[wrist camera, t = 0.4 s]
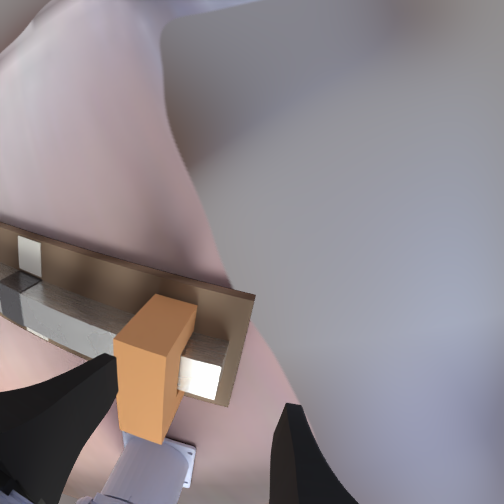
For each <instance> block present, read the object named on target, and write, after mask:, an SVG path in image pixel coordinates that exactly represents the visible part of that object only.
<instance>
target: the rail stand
mask: <svg viewBox="0 0 504 504" xmlns="http://www.w3.org/2000/svg"><path fill="white" fill-rule="evenodd" d="M155 294H159V295H162V296H165V297H169V298H173V299H176V300H180V301H183V302H187V303H191V304H194V305H198V306H197V313H196V319H195V326H194V331H193V333H192V335H191V337H190V339H189V340H188V342H187V344H186V346H185V348H184V350H183V351H182V353H181V356H180V365H179V374H178V384H177V389H178V390H181V391H185V393H184V396H188V397H191V398H194V399H198V400H202V401H205V402H209V403H213V404H216V405H220V406H224V407H228V405H229V401H230V397H231V393H232V389H233V385H234V381H235V377H236V373H237V369H238V365H239V361H240V357H241V353H242V349H243V345H244V341H245V337H246V333H247V329H248V325H249V321H250V317H251V312H252V308H253V304H254V300H255V296H256V295H254V294H250V293H245V292H241V291H237V290H233V289H229V288H225V287H221V286H217V285H213V284H209V283H206V282H202V281H198V280H194V279H190V278H186V277H183V276H179V275H175V274H171V273H168V272H164V271H160V270H156V269H153V268H149V267H146V266H142V265H138V264H135V263H131V262H128V261H124V260H121V259H117V258H114V257H110V256H107V255H103V254H100V253H97V252H93V251H90V250H87V249H83V248H80V247H77V246H73V245H70V244H67V243H64V242H60V241H57V240H54V239H51V238H48V237H44V236H41V235H38V234H35V233H32V232H29V231H26V230H23V229H20V228H17V227H14V226H11V225H8V224H5V223H2V222H0V316H2V317H4V318H5V319H7V320H9V321H10V322H12V323H14V324H16V325H18V326H19V327H21V328H23V329H25V330H27V331H28V332H30V333H32V334H34V335H36V336H38V337H40V338H42V339H44V340H46V341H48V342H50V343H52V344H54V345H56V346H58V347H60V348H62V349H64V350H66V351H68V352H70V353H72V354H75V355H77V356H79V357H81V358H84V359H86V360H88V361H89V360H91V359H93V358H95V357H97V356H99V355H101V354H103V353H107V354H109V355H112V356H114V352H113V338H114V337H115V336H116V335H117V334H118V333H119V332H120V331H121V330H122V329H123V328H124V326H125V325H126V324H127V323H128V322H129V321H130V320H131V319H132V318H133V317H134V316H135V315H136V314H137V313H138V311H139V310H140V309H141V308H142V307H143V306H144V305H145V304H146V303H147V302H148V301H149V300H150V299H151V298H152V297H153V296H154V295H155Z"/></svg>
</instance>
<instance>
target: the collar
mask: <svg viewBox="0 0 504 504" xmlns="http://www.w3.org/2000/svg"><path fill="white" fill-rule="evenodd" d="M197 306H198V305H194V304H191V303H187V302H183V301H180V300H176V299H173V298H169V297H165V296H162V295H159V294H155V295H154V296H153V297H152V298H151V299H150V300H149V301H148V302H147V303H146V304H145V305H144V306H143V307H142V308H141V309H140V310H139V311H138V313H137V314H136V315H135V316H134V317H133V318H132V319H131V320H130V321H129V322H128V323H127V324H126V325H125V326H124V328H123V329H122V330H121V331H120V332H119V333H118V334H117V335H116V336H115V337H114V338H113V352H114V356H115V357H116V358H117V376H118V389H119V391H118V393H117V395H116V399H117V410H118V419H119V428H120V430H122V431H125V432H127V433H130V434H132V435H135V436H137V437H140V438H143V439H145V440H148V441H151V442H154V443H157V444H160V445H162V443H163V441H164V438H165V436H166V434H167V432H168V429H169V427H170V425H171V422H172V420H173V418H174V416H175V413H176V411H177V409H178V407H179V404H180V402H181V400H182V397H183V395H184V393H185V391H181V390H178V389H177V384H178V374H179V365H180V356H181V353H182V351H183V350H184V348H185V346H186V344H187V342H188V340H189V339H190V337H191V335H192V333H193V331H194V326H195V319H196V313H197Z"/></svg>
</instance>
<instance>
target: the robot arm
mask: <svg viewBox="0 0 504 504" xmlns="http://www.w3.org/2000/svg"><path fill="white" fill-rule="evenodd" d="M118 391H119V389H118V376H117V358H116V357H115V356H112V355H109V354H107V353H103V354H101V355H99V356H97V357H95V358H93V359H91V360H89V361H87V362H85V363H84V364H82V365H80V366H78V367H76V368H74V369H72V370H70V371H68V372H66V373H63V374H61V375H59V376H56V377H54V378H52V379H49V380H47V381H44V382H42V383H39V384H35V385H32V386H29V387H25V388H20V389H16V390H11V391H5V392H0V504H58V503H59V500H60V497H61V494H62V492H63V489H64V487H65V484H66V482H67V479H68V477H69V475H70V472H71V470H72V468H73V466H74V464H75V462H76V460H77V458H78V456H79V454H80V452H81V450H82V448H83V447H84V445H85V443H86V442H87V440H88V439H89V438H90V436H91V435H92V433H93V432H94V430H95V429H96V428H97V426H98V425H99V423H100V422H101V421H102V419H103V418H104V416H105V415H106V413H107V412H108V410H109V409H110V407H111V405H112V403H113V401H114V399H115V397H116V395H117V393H118ZM122 433H123V441H124V450H123V452H122V454H121V455H120V457H119V459H118V461H117V463H116V465H115V466H114V468H113V470H112V472H111V474H110V476H109V478H108V480H107V481H106V483H105V485H104V487H103V489H102V491H101V493H98V492H97V494H96V496H95V497H94V499H93V498H91V497H90V496H86V497H81V498H79V499H78V501H77V502H76V503H75V504H177V502H178V499H179V496H180V493H181V490H182V487H186V488H189V487H190V483H191V477H192V471H193V465H194V460H195V454H196V448H195V447H193V446H191V445H187V444H184V443H180V442H177V441H174V440H171V439H168V438H164V441H163V443H162V445H160V444H157V443H154V442H151V441H148V440H145V439H143V438H140V437H137V436H135V435H132V434H130V433H127V432H125V431H122ZM269 504H358V502H357V501H356V500H355V499H354V498H353V497H352V496H351V495H350V494H349V493H348V492H347V490H346V489H345V488H344V487H343V485H342V484H341V483H340V481H339V480H338V479H337V477H336V476H335V474H334V473H333V471H332V470H331V468H330V467H329V465H328V463H327V462H326V460H325V458H324V457H323V455H322V453H321V451H320V449H319V447H318V445H317V443H316V440H315V438H314V436H313V434H312V432H311V429H310V427H309V424H308V422H307V419H306V416H305V414H304V411H303V408H302V406H301V405H297V404H291V403H286V404H285V407H284V409H283V412H282V414H281V417H280V419H279V422H278V424H277V427H276V429H275V432H274V435H273V442H272V449H271V461H270V499H269Z"/></svg>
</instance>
